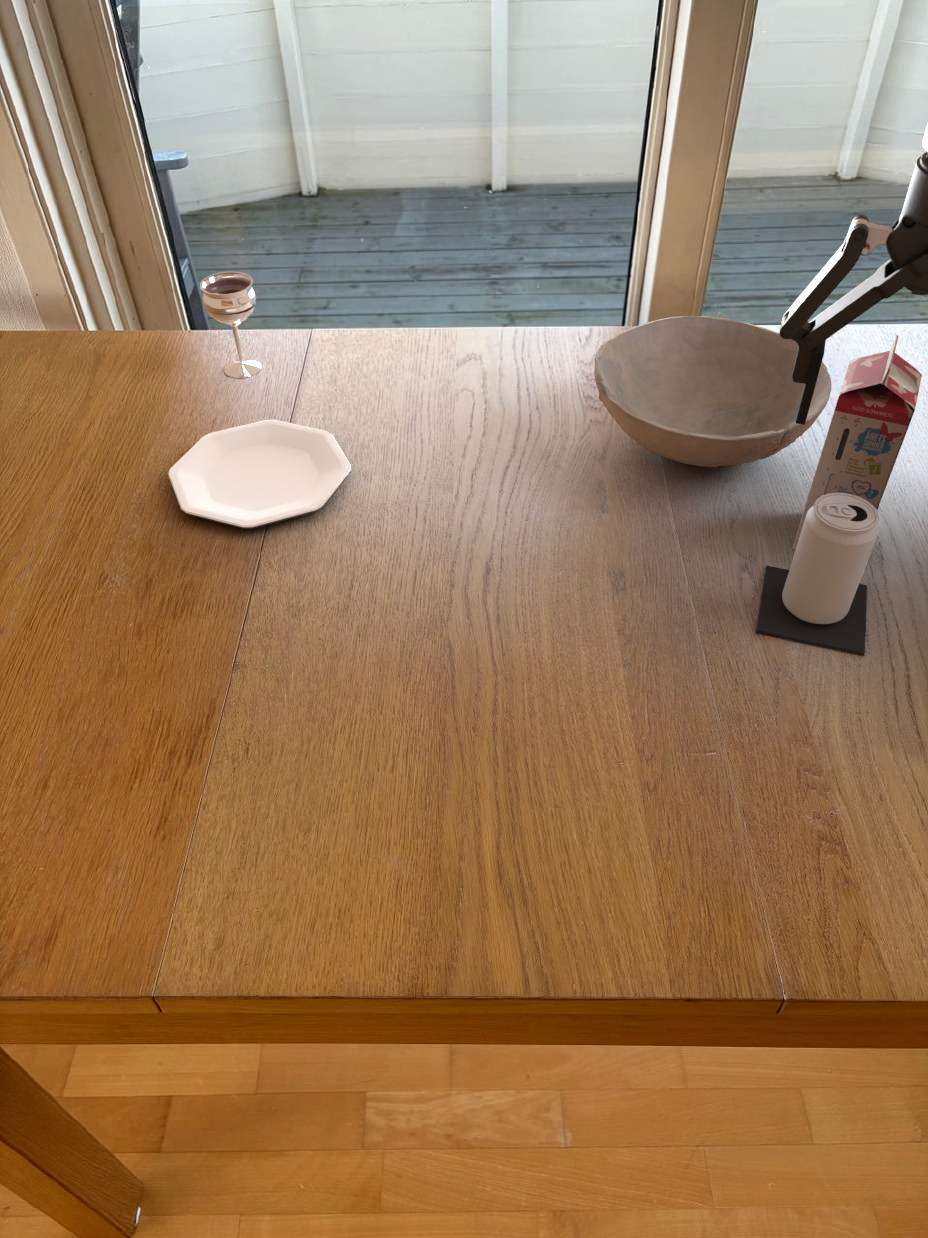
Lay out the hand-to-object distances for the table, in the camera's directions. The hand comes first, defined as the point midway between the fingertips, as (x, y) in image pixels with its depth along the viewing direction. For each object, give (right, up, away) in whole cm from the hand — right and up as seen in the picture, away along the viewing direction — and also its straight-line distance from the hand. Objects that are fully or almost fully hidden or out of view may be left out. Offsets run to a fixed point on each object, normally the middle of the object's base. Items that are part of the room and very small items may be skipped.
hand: (885, 428), depth 79 cm
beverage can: (-1, -15, +15) cm, 21 cm away
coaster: (0, -15, +15) cm, 21 cm away
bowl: (-7, +6, +36) cm, 37 cm away
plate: (-58, 0, +31) cm, 66 cm away
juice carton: (+4, -7, +23) cm, 25 cm away
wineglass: (-65, +18, +49) cm, 84 cm away
